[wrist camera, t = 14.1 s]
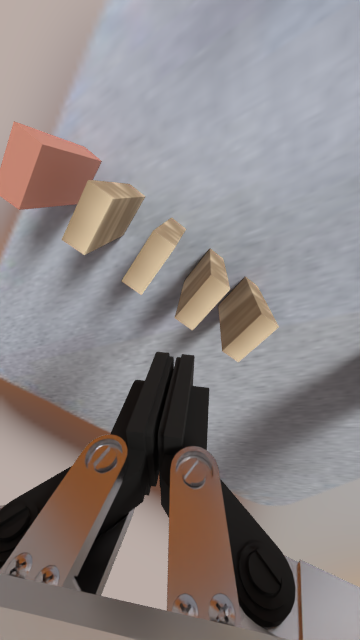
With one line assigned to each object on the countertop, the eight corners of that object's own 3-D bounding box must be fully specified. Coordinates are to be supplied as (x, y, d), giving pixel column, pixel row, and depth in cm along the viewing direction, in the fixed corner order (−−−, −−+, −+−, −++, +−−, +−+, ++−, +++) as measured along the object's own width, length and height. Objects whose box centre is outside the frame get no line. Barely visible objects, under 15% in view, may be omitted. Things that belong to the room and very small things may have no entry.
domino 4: (223, 258, 28) (230, 289, 19) (197, 290, 30) (192, 330, 21) (210, 248, 27) (210, 274, 19) (184, 280, 30) (174, 318, 21)
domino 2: (145, 196, 26) (113, 198, 17) (123, 235, 28) (84, 255, 19) (129, 184, 25) (88, 179, 16) (108, 224, 27) (61, 239, 19)
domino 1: (101, 161, 24) (42, 144, 16) (81, 203, 27) (18, 209, 18) (84, 147, 24) (14, 121, 15) (65, 191, 26) (-7, 191, 17)
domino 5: (257, 286, 29) (278, 327, 20) (229, 314, 31) (238, 362, 22) (245, 276, 29) (261, 314, 20) (218, 305, 31) (222, 351, 22)
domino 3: (185, 229, 27) (175, 247, 18) (161, 263, 29) (141, 295, 20) (171, 217, 26) (153, 230, 18) (147, 253, 28) (121, 281, 20)
